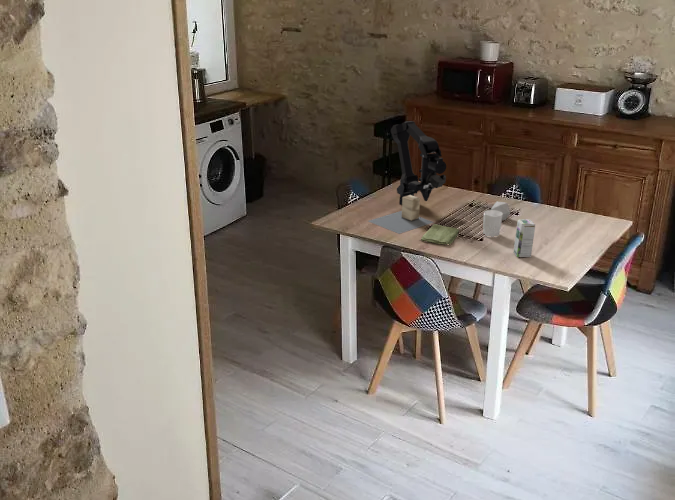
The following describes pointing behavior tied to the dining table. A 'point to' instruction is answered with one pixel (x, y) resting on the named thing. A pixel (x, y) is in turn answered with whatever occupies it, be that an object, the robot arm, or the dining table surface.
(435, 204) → the dining table surface
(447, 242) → the washcloth
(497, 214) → the white cup
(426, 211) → the dining table surface
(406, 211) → the maple block
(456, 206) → the dining table surface
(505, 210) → the die
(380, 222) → the rubber pad
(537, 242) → the dining table surface
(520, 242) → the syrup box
